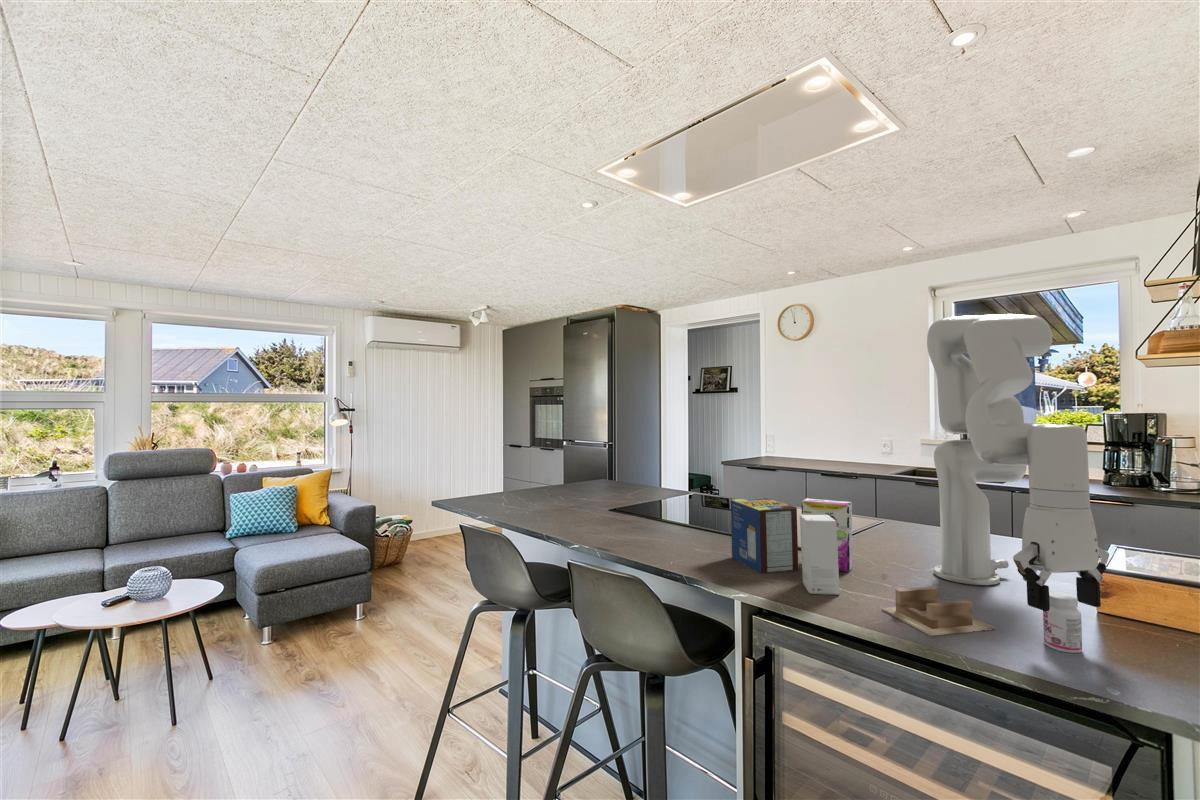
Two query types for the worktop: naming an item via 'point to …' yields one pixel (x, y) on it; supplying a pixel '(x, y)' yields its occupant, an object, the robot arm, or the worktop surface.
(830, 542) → the skincare box
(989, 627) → the cradle
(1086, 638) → the worktop surface
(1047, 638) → the pill bottle
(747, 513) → the protein box
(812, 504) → the candy bar box
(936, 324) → the robot arm
